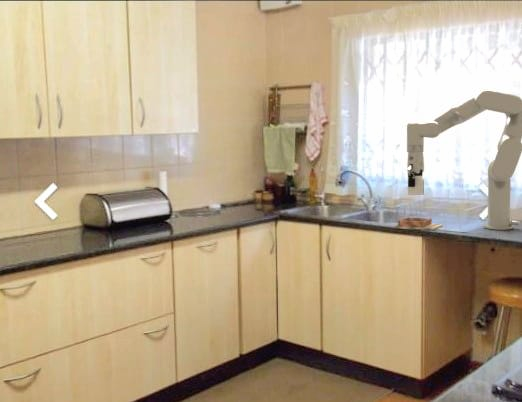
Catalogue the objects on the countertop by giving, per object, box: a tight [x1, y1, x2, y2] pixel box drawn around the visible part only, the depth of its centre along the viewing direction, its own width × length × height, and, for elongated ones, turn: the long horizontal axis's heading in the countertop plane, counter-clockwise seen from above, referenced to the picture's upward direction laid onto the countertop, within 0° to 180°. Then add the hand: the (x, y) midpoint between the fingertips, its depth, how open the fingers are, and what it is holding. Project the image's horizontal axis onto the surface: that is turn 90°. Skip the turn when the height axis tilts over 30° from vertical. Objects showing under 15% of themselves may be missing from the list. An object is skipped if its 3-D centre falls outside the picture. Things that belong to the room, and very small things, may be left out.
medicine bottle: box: [407, 169, 425, 196], centre depth 302 cm, size 7×7×12 cm
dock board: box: [395, 216, 444, 232], centre depth 304 cm, size 18×14×4 cm
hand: (415, 185), depth 303 cm, fingers closed on medicine bottle, 8 cm apart
